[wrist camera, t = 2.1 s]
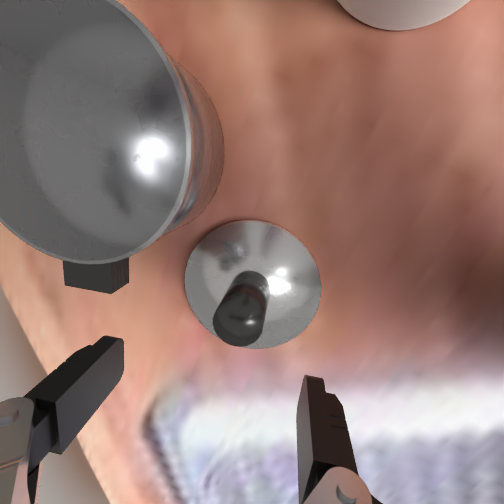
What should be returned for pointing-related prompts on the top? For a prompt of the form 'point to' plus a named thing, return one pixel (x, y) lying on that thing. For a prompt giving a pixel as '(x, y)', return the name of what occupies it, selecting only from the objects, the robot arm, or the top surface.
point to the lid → (253, 284)
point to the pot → (98, 137)
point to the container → (401, 12)
